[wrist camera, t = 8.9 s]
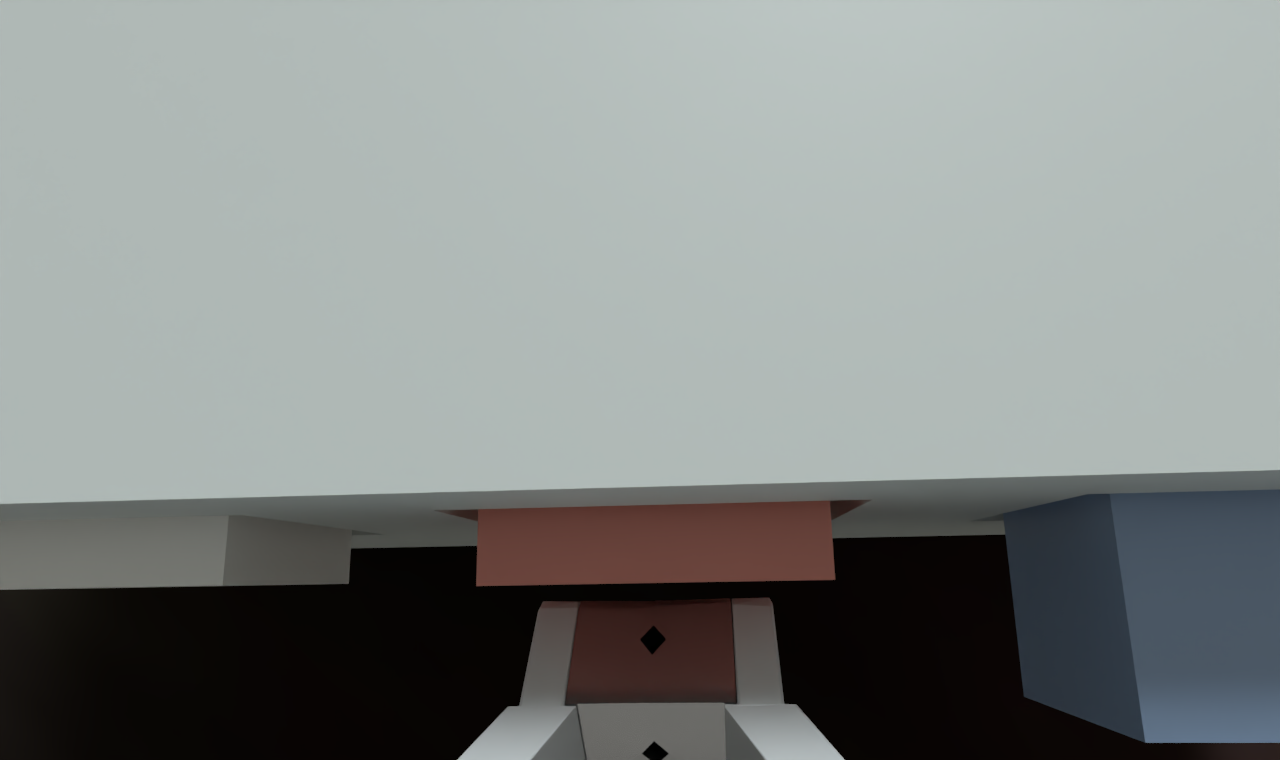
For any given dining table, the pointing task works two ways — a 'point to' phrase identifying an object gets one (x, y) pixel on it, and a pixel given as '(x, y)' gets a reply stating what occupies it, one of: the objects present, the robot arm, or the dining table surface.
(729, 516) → the red key
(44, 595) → the dining table surface
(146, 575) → the white key
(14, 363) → the key console
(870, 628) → the dining table surface
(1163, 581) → the blue key
